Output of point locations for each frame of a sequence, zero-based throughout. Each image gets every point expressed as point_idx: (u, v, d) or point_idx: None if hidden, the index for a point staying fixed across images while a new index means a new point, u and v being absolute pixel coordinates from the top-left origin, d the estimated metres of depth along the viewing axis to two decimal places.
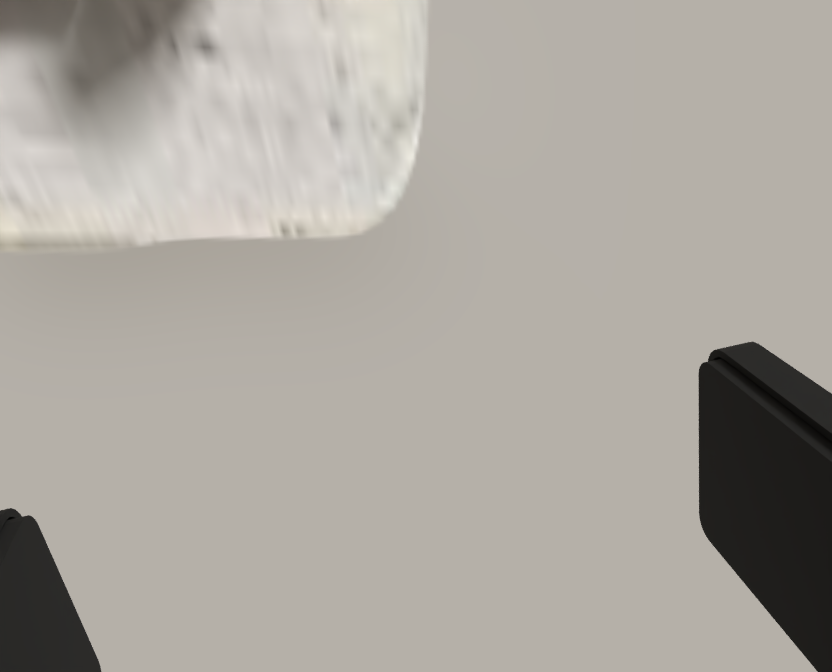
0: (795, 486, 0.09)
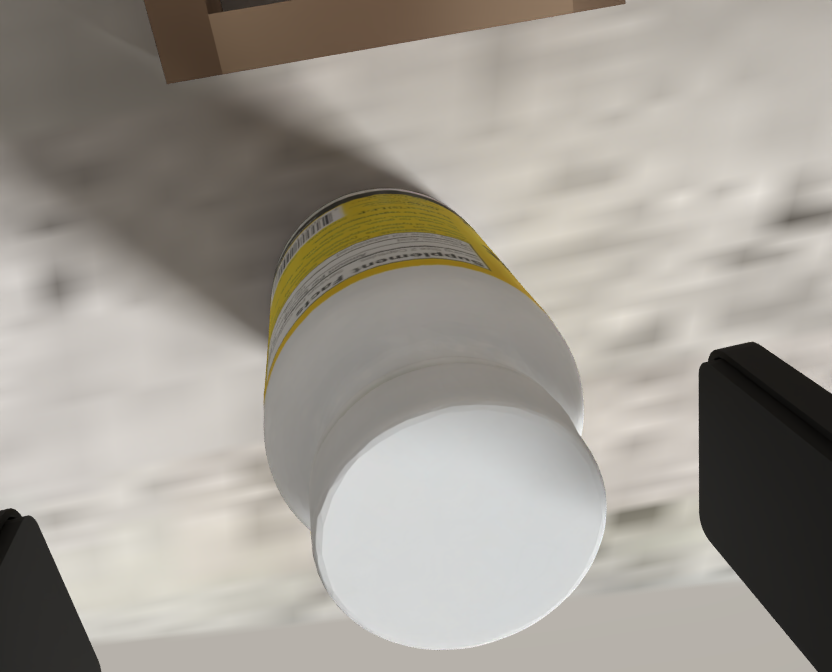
0: (795, 486, 0.09)
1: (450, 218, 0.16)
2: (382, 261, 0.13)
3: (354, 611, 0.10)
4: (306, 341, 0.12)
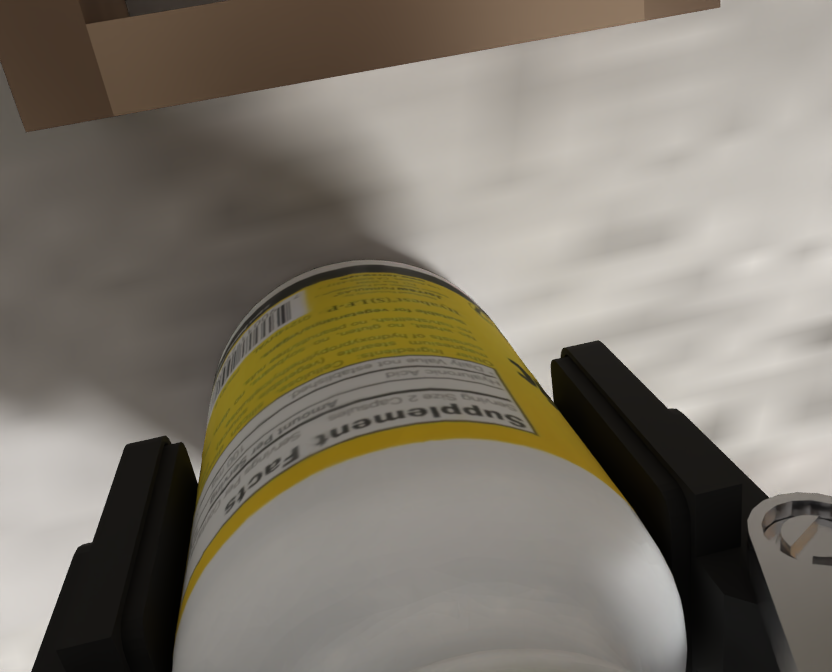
0: (611, 473, 0.09)
1: (459, 312, 0.11)
2: (363, 423, 0.08)
3: None
4: (234, 588, 0.07)
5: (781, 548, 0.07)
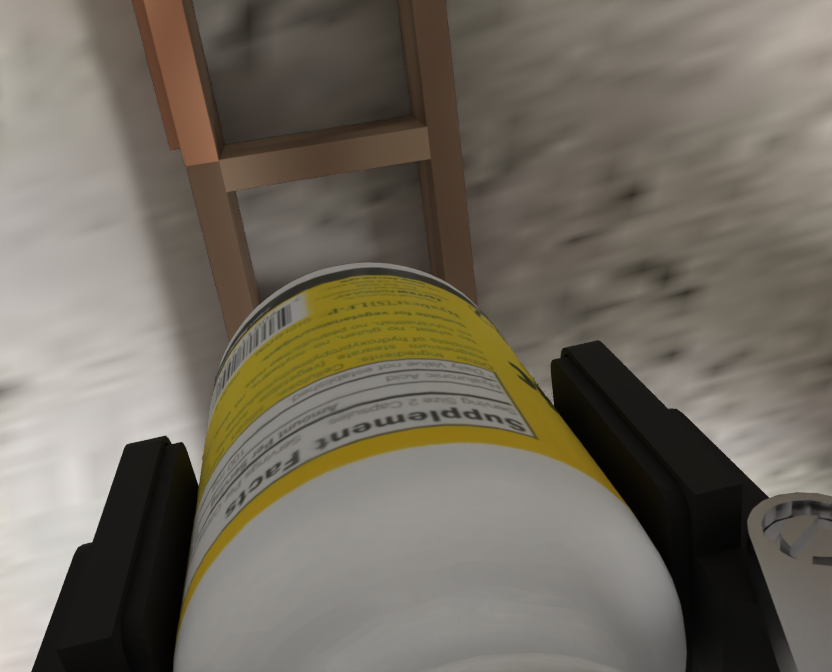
0: (611, 473, 0.09)
1: (459, 315, 0.11)
2: (363, 428, 0.08)
3: None
4: (235, 592, 0.07)
5: (781, 548, 0.07)
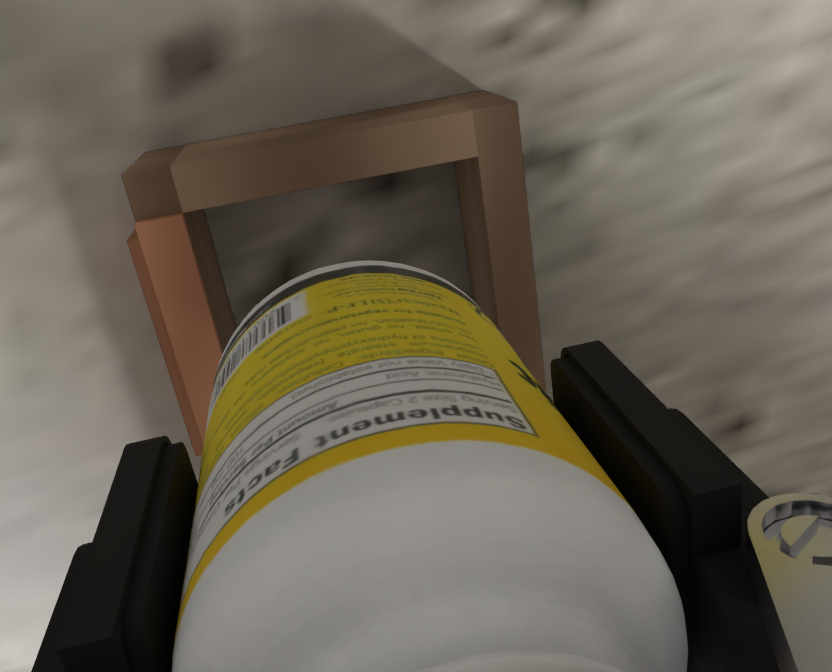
0: (611, 473, 0.09)
1: (459, 313, 0.11)
2: (363, 425, 0.08)
3: None
4: (233, 590, 0.07)
5: (781, 548, 0.07)
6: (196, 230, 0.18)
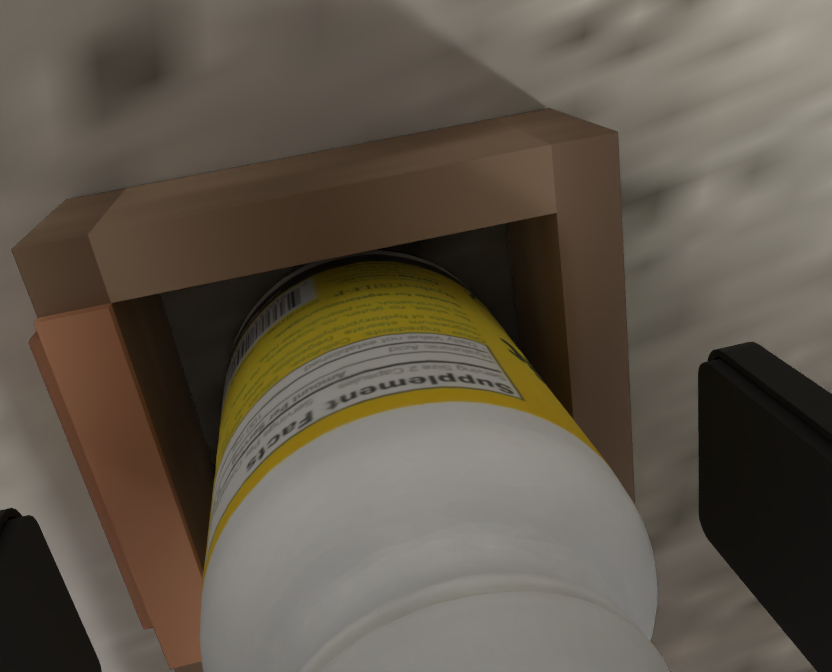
0: (794, 486, 0.09)
1: (455, 297, 0.12)
2: (369, 390, 0.09)
3: None
4: (258, 530, 0.08)
5: None
6: (137, 319, 0.12)
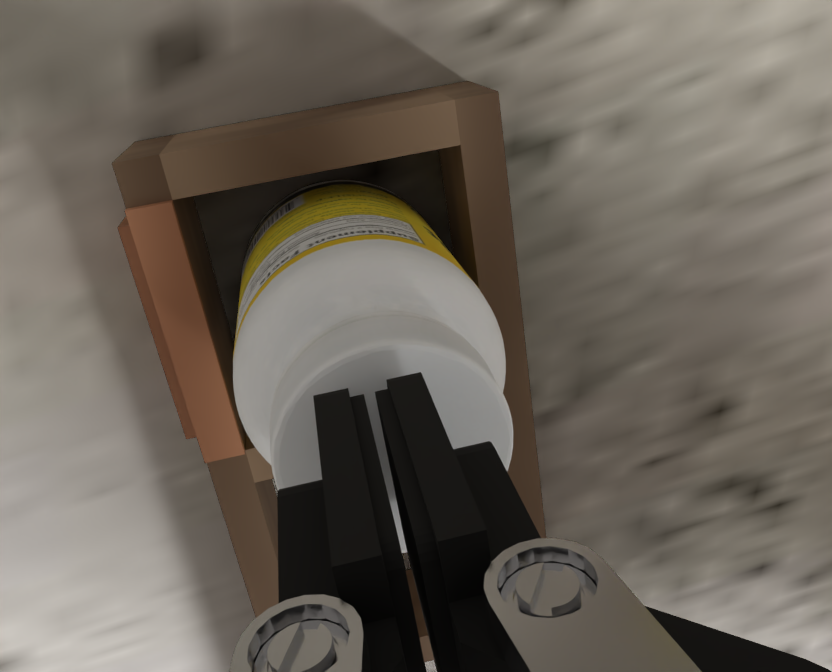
0: (403, 510, 0.09)
1: (397, 204, 0.18)
2: (332, 237, 0.15)
3: None
4: (267, 304, 0.14)
5: (516, 596, 0.07)
6: (185, 217, 0.18)
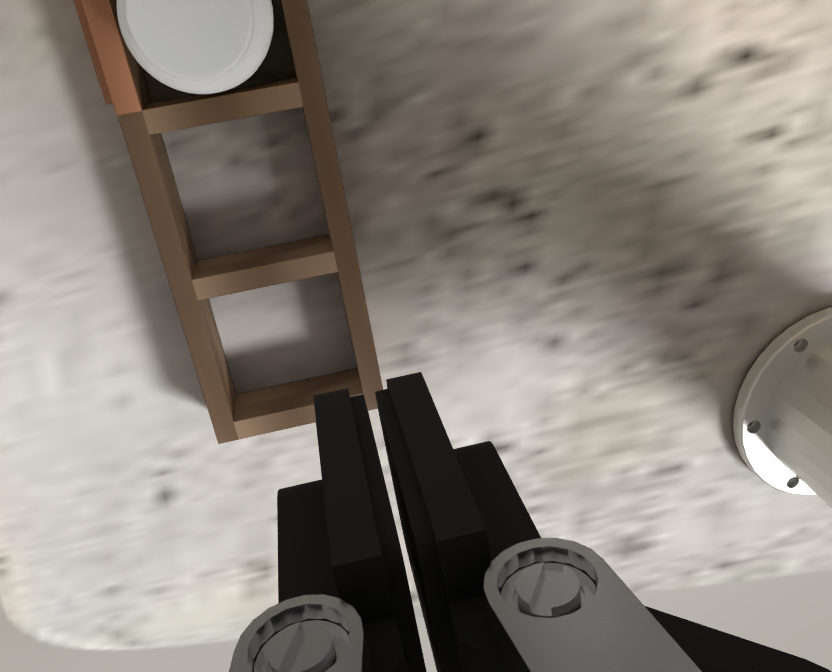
0: (404, 510, 0.09)
1: None
2: None
3: (146, 52, 0.25)
4: None
5: (517, 596, 0.07)
6: None
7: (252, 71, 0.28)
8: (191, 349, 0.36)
